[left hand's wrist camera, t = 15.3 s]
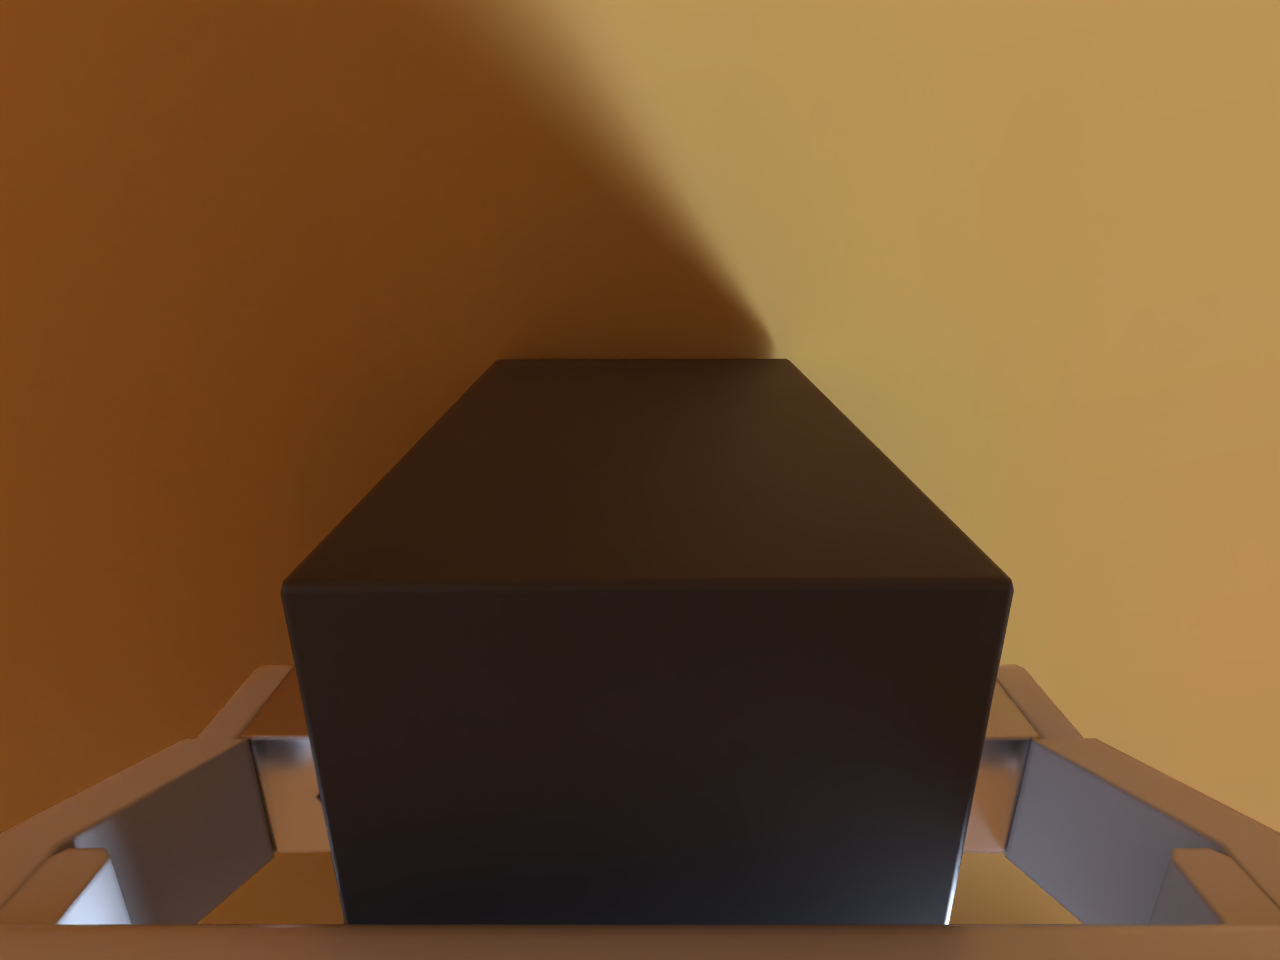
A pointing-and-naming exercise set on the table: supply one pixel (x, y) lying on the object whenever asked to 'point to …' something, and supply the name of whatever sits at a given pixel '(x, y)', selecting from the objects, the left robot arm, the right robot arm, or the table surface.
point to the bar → (646, 661)
